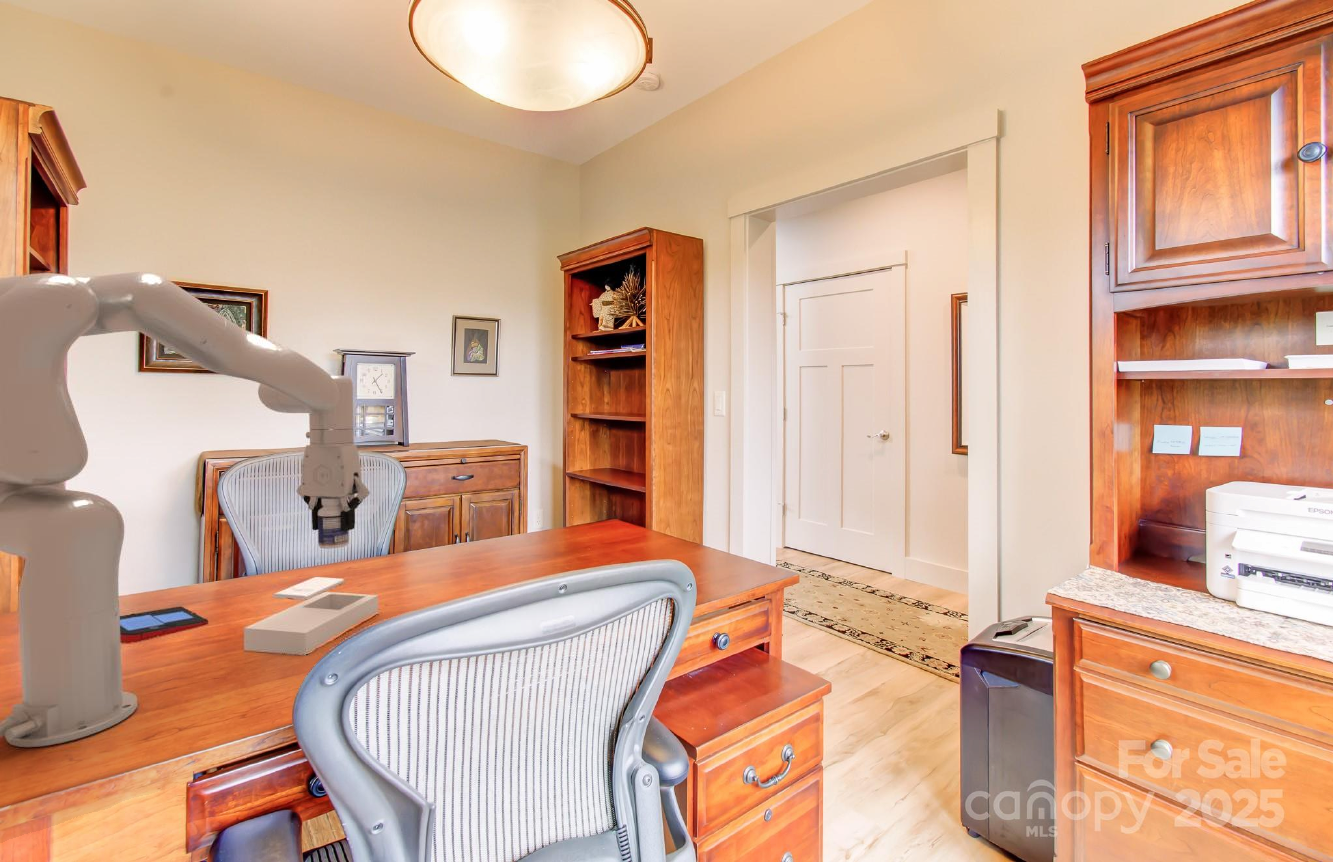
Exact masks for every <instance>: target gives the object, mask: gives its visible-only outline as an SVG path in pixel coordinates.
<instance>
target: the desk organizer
mask: <svg viewBox="0 0 1333 862" xmlns="http://www.w3.org/2000/svg"><path fill="white" fill-rule="evenodd" d="M376 612H378V613H379V595H377V594H366V593H365V594H364V593H350V592H349V593H348V592H334V591H333V592H332V591H326V592H323V593H321V594H319V595H316V596H314V597H312V598H310V599H307V600H302V602H298V603H297V604H295V605H292V606H291V607H287V608H286V609H283V610H282V611H279V612H277V613H275V614H272V615H270V616H268V617H266V618H264V619H261V620H259V621H257V622H254V623H253V624H252V623H251V625H248V626H245V627H244V628H243V636H244V637H243V639H244V640H243V644H244V647H243V648H244V649H243V650H244V651H247V652H249V651H250V652H260V653H270V654H282V653H283V655H295V654H296V656H307V655H306V654H307V653H309V652H310V651H312V650H313V649H316V648H317V647H318V646H320V645H321V644H323V643H325V642H327V641H328V640H330V639H331V638H332V637H334V636H337V635H339V634H340V633H341V632H344V631H345V630H346V629H348V628H349V627H352V626H353V625H354V624H357V623H358V622H359V621H361V620H362V619H365V618H367V617H369V616H371V615H372V614H375V613H376ZM284 653H285V654H284ZM297 654H298V655H297ZM303 654H304V655H303Z"/></svg>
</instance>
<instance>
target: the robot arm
mask: <svg viewBox="0 0 1333 862" xmlns="http://www.w3.org/2000/svg"><path fill="white" fill-rule="evenodd" d="M123 332H138V333H140V334H143V335H145V336H147V337H149V338H150V339H151V340H154V341H155V342H157V343H159V344H161V345H163V346H164V347H165V348H168V349H170V350H172V351H173V352H175V353H177V354H178V355H180V356H182V357H184V358H185V359H187V360H189V361H191V362H192V363H194V364H196V365H198V366H200V367H201V368H203V369H204V370H207V371H211V372H213V373H217V374H220V375H224V376H228V377H234V378H237V379H243V380H247V381H251V382H255V383H258V384H259V385H258V389H257V395H258V398H259V400H260V402H261V403H262V404H263V405H264V406H265V407H266V408H268V409H269V410H271V411H274V412H277V413H282V414H308V415H309V416H308V417H309V424H308V425H309V431H307V432H306V433H305V437H306V438H307V439H309V444H308V445H305V447H304V448H305V449H304V451H303V452H304V453H303V457H302V466H301V479H300V480H301V482H300V485H299V486H298V487H297V489H296V493H297V494H298V495H299V497H301V499H303V501H304V502H305V504H307V508H308V510H311V525H312V526H311V529H312V530H313V531H318V511H319V510H320V509H321V508H323V505H322V503H321V498H322V497H340V500H341V504H342V507H343V510H344V511H341V531H342V532H345V531H348V530H349V531H350V530H351V531H352V530H354V529H355V527H356V526H355V525H356V510H357V509H358V507H359V506H360V505H361V503H362V502H363V500H365V499H366V498H367V497H368V496H369V495H370V493H371V492H370V490H369V489H368V487H367V486H366V485H365V484H364V483H363V482H362V472H361V471H362V470H361V469H362V468H361V461H360V460H361V459H360V455H359V452H358V451H359V450H358V447H357V444H355V440H354V439H355V436H354V435H355V434H354V385H353V381H352V379H351V378H350V377H349V376H346V375H339V374H338V375H337V374H329V373H328V372H327V371H326V370H325V369H323V368H321V366H319V365H317V364H316V363H314V362H313V361H312V360H311V359H309V358H307V357H306V356H304V355H302V354H301V353H299V352H296V351H295V350H293V349H291V348H288V347H286V346H284V345H282V344H280V343H276V342H274V341H272V340H270V339H268V338H266V337H264V336H261V335H259V334H256V333H254V332H251V331H249V330H247V329H244V328H242V327H241V326H239V325H237V324H236V323H234V322H232V321H231V320H229V319H228V318H226V317H225V316H223V315H222V314H220V313H219V312H217V311H216V310H215V309H213V308H211V307H210V306H208V305H207V304H206V303H204V302H203V301H201V300H200V299H198V298H197V297H195V296H194V295H192V294H190V293H189V292H188V291H186V290H185V289H183V288H182V287H180V286H178V284H175V283H174V282H172V281H171V280H169V279H167V278H166V277H163V276H161V275H158V274H155V273H152V272H146V271H145V272H144V271H143V272H142V271H137V272H136V271H135V272H124V273H113V274H107V275H96V276H94V275H93V276H80V277H79V276H78V277H77V276H76V277H72V276H69V275H67V274H60V273H52V272H51V273H50V272H45V273H41V272H40V273H31V274H23V275H17V276H10V277H0V551H1V552H3V553H6V554H9V555H12V556H16V557H22V558H24V567H23V571H22V575H21V579H20V584H19V589H18V599H17V601H18V602H17V604H18V605H17V606H18V609H17V610H18V621H19V637H20V639H19V641H20V661H21V662H20V665H21V684H22V685H21V688H22V689H21V690H22V701H21V702H18V703H16V704H13V705H12V706H11V708H12V713H11V714H9V715H7V716H6V717H5V719H4V720H1V721H0V739H1V738H3V737H5V739H6V742H7V743H9V745H12V746H15V747H21V748H22V747H23V748H34V747H35V748H37V747H38V748H39V747H47V746H52V745H58V744H62V743H67V742H72V741H74V740H79V739H82V738H85V737H88V736H91V735H93V734H96V733H99V732H101V731H103V730H106V729H109V728H111V727H113V726H115V725H117V724H119V723H121V722H122V721H124V720H125V719H127V718H128V717H129V716H130V715H132V714H134V712H135V710H137V707H138V697H137V695H136V694H134V693H131V692H130V691H123V673H122V668H123V667H122V645H121V644H122V642H121V639H120V616H121V613H120V611H121V610H120V599H119V573H120V571H119V569H120V561H121V554H122V548H123V544H124V539H125V522H124V518H123V515H122V514H121V512H120V510H119V509H118V508H117V507H116V506H115V505H114V504H113V503H112V502H111V501H109V500H108V499H106V498H105V497H102V496H100V495H97V494H94V493H90V492H87V491H80V490H71V489H66V487H65V485H64V482H68V481H69V480H71V479H73V478H75V477H76V476H78V475H79V474H80V473H81V472H82V471H83V470H84V468H85V467H86V465H87V462H88V460H89V459H88V458H89V449H88V445H87V441H86V439H85V435H84V433H83V430H82V427H81V424H80V422H79V419H78V418H79V417H78V416H77V414H76V410H75V407H74V404H73V402H72V399H71V395H70V393H69V390H68V389H69V388H68V385H67V381H66V377H65V363H66V362H65V360H66V358H67V356H68V352H69V350H70V349H71V347H72V345H74V343H75V342H76V341H77V340H78V339H79V338H80V337H87V336H97V335H104V334H105V335H107V334H113V333H123Z"/></svg>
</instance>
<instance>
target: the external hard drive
mask: <svg viewBox="0 0 1333 862" xmlns="http://www.w3.org/2000/svg"><path fill="white" fill-rule="evenodd" d="M345 581H346V580H345V579H344V578H335V577H322V576H321V577H319V576H315V577H312V578H309V579H307V580H305V581H302V582H299V583H297V584H293V585H292V586H290V587H288V588H286V589H285V588H284V589H282V590H279V591H277V592H275V593H273V594H272V598H273V597H275V598H274V599H284V598H288V599H289V598H292V599H291V600H298V599H307V600H308V598H310V597H313V596H314V597H315V595H316V596H317V595H318V594H319V593H322V592H323V591H326V590H328V591H329V589H330V588H332V589H334V588H333V587H335V586H337V587H339V586H340V585H339V584H341V585H343V584H342V583H343V582H345ZM345 583H346V582H345ZM338 585H339V586H338ZM335 588H336V587H335ZM330 590H331V589H330ZM326 592H327V591H326ZM323 593H324V592H323ZM276 597H277V598H276Z"/></svg>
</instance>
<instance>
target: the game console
mask: <svg viewBox="0 0 1333 862" xmlns="http://www.w3.org/2000/svg"><path fill="white" fill-rule="evenodd" d="M205 625H209V620H208V619H207V618H205V617H202V616H201V615H199V614H197V613H196V612H192V611H191V610H190V609H187V608H185V607H184V606H174V607H173V606H172V607H167V608H161V609H154V610H149V611H144V612H138V613H131V614H125V615H120V639H121V643H122V642H126V643H125V644H130V643H131V642H134V643H138V641H139V642H141V640H143V641H146V639H147V640H149V638H151V639H154V637H155V638H158V637H157V636H159V637H163V636H166V635H165V634H167V635H170V633H171V634H175V633H178V631H179V632H182V631H187V630H191V629H194V628H198V627H202V626H205ZM186 629H187V630H186ZM162 635H163V636H162ZM131 644H132V643H131Z"/></svg>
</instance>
